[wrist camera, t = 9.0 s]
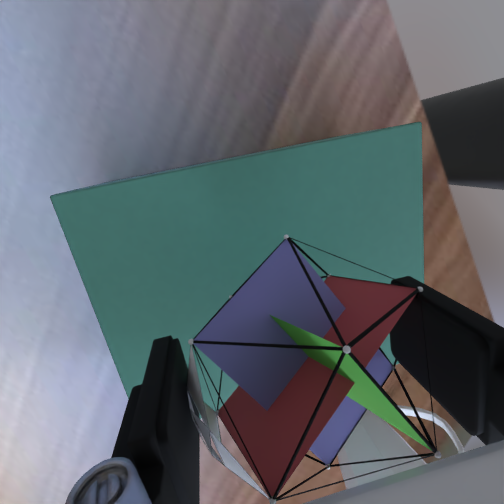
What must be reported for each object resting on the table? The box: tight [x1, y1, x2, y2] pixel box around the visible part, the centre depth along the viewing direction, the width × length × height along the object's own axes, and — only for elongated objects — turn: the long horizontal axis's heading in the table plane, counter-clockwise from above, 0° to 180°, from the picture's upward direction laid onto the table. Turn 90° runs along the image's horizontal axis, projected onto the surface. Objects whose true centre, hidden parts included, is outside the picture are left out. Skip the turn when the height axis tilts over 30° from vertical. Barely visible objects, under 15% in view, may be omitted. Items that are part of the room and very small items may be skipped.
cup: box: [338, 405, 464, 489], centre depth 25 cm, size 7×10×8 cm
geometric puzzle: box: [187, 234, 441, 504], centre depth 10 cm, size 7×7×8 cm
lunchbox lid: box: [50, 122, 424, 419], centre depth 15 cm, size 16×13×1 cm
